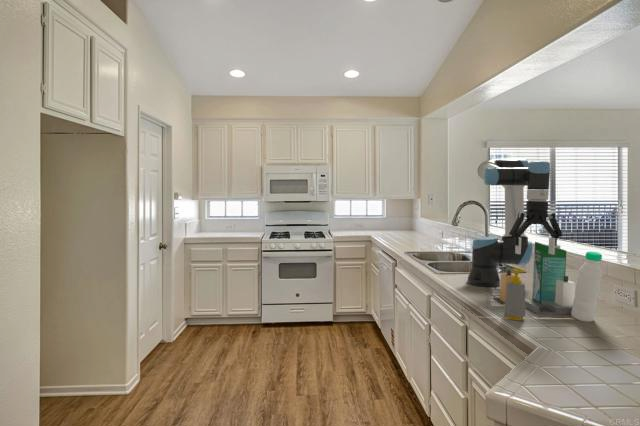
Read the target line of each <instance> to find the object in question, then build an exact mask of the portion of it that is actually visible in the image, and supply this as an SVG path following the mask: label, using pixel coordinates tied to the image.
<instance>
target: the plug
mask: <svg viewBox="0 0 640 426" xmlns="http://www.w3.org/2000/svg"><path fill="white" fill-rule="evenodd" d="M513 276H515V274H514V273H512V269H507V270H506V273H500V285H499V287H500V289H499V298H500V300H501V301H503V302H505V300H506V290H507V282H508V281H511V279H513Z"/></svg>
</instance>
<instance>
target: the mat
mask: <svg viewBox="0 0 640 426" xmlns="http://www.w3.org/2000/svg"><path fill="white" fill-rule="evenodd" d="M491 299H492V300H493V301H495V302H497V303H498V304H500V305H504V306H505V302H503V301H501V300H500V297H491Z"/></svg>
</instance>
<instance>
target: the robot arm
mask: <svg viewBox="0 0 640 426" xmlns="http://www.w3.org/2000/svg"><path fill="white" fill-rule="evenodd" d="M477 175H478V176H479V178H480V179H482V180H483V183H484V185H486V186H502V187H503V188H504V234H503V235H502V236H501V239H499V238H498V237H497V236H481V237H477V238H474V239H473V241H472V247H471V249H472V253H471V254H472V255H471V268H470V271H469V272H468V276H467V283H468V284H470V285H473V286H479V287H488V288H489V287H491V288H492V287H500V283H501V277H500V275H499V272H498V264H500V265H501V264H502V265H517V266H519V265H520V266H521V265H522V266H523V265H524V266H525V265H528V264H529V262H530V260H531V259H532V255H533V243H532V241H530V240H529V237H528V236H527V235H526V233H525V231H526V230H528V228H529V227H530V226H531V225H542V227H544V229H545V230H546V231H547V234H549V235H550V237H548V245H549V250H548V253H549V254H552V255H554V253H555V246H556V245H558V239H559V238H560V237H563V233H562V230H561V227H560V225H559V224H558V221H557V218H556V213H555V212H549V213H548V210H549V202H548V201H549V195H550V193H549V192H550V178H551V177H550V176H551V163H550V162H549V161H547V160H533V161H530V162H529V161H528V159H525V158H519V157H517V158H491V159H487V160H485V161H482V162H481V163H480V164H479V165H478V167H477ZM525 187H526V199H527V201H526V203H525V197H524V193H525V192H524V191H525V190H524V188H525ZM524 204H526V207H525V205H524ZM525 209H526V212H525ZM525 218H526V219H525ZM547 218H548V220H549V222H550V223H549V222H548V220H547ZM550 224H551V225H550Z"/></svg>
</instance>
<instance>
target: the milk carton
mask: <svg viewBox="0 0 640 426" xmlns="http://www.w3.org/2000/svg"><path fill="white" fill-rule="evenodd" d="M548 250H549V244H545V243H541V242H538V241H535V242H534V252H533V253H534V255H533V256H534V257H533V274H532V275H533V278H532V299H534V300H535V301H537V303H539V304H542V301H555V296H556V280H563V276H566V268H567V267H566V266H567V250H565V249H562V248H561V245H559V244H557V245H556V246H555V253H554V255H552V254H549V253H548Z"/></svg>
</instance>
